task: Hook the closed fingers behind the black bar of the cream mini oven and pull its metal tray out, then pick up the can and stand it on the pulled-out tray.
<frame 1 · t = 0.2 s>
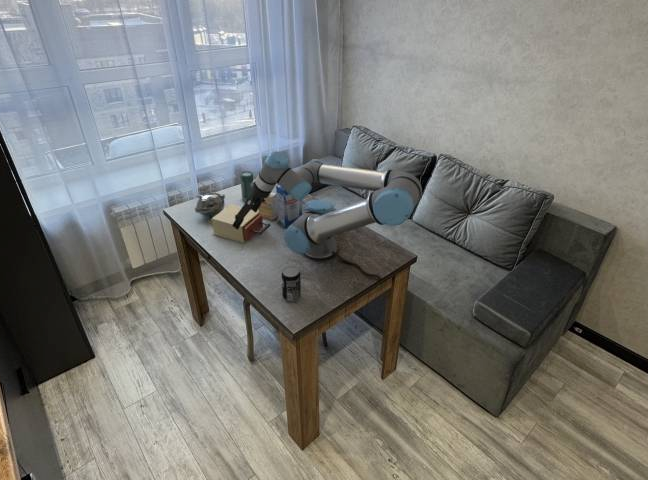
hand: (244, 218, 164), 15 cm above the table, tool tilted 30°, fingers open, 13 cm apart
oven: (237, 230, 183), on the table
milk carton: (290, 222, 191), on the table
can: (248, 199, 208), on the table
beverage can: (291, 296, 147), on the table
piggy bank: (212, 215, 193), on the table
supplement box: (268, 216, 195), on the table
drawer: (246, 225, 179), point 4 cm above the table, slide at 0.5 cm
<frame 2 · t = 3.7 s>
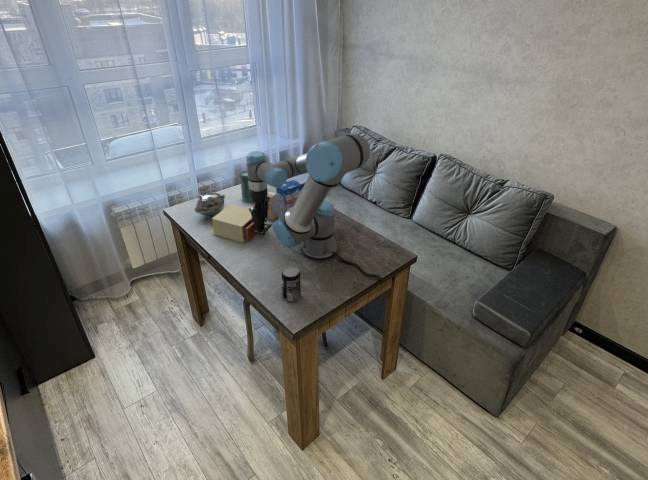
hand: (261, 234, 178), 2 cm above the table, tool pointing down, fingers closed
drawer: (247, 226, 179), point 4 cm above the table, slide at 1.2 cm, touching gripper
everything else where it was.
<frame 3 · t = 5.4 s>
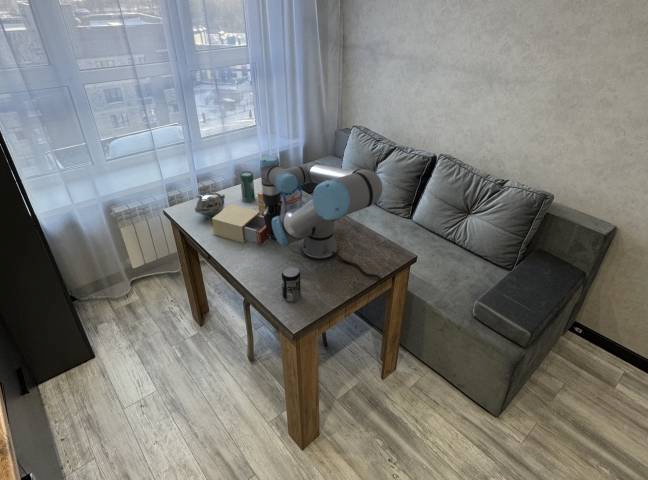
hand: (274, 238, 176), 1 cm above the table, tool pointing down, fingers closed
drawer: (260, 229, 177), point 4 cm above the table, slide at 7.6 cm
everything else where it was.
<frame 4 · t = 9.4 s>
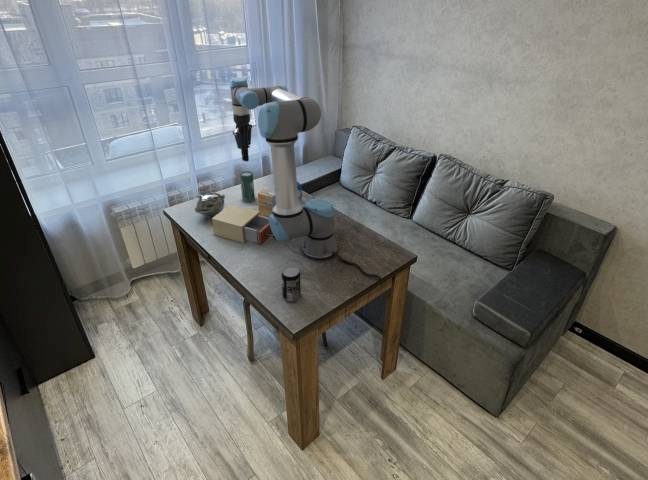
hand: (245, 160, 195), 23 cm above the table, tool pointing down, fingers closed
nothing on the table moved.
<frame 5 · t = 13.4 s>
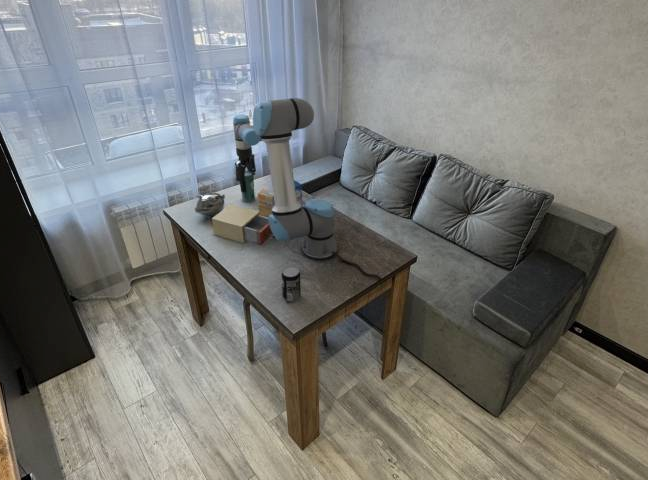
hand: (247, 189, 205), 6 cm above the table, tool pointing down, fingers closed on can, 6 cm apart
can: (248, 199, 208), on the table, touching gripper
everything else where it was.
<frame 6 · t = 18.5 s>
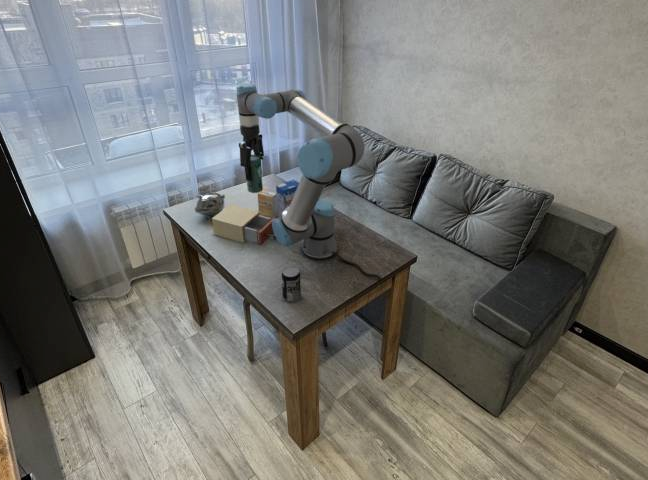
hand: (254, 176, 169), 28 cm above the table, tool pointing down, fingers closed on can, 6 cm apart
can: (255, 190, 172), point 21 cm above the table, touching gripper
everything else where it was.
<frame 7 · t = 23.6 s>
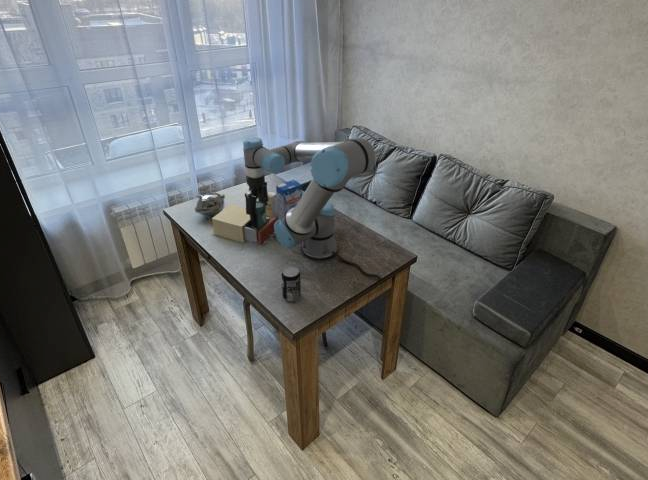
hand: (258, 221, 175), 8 cm above the table, tool pointing down, fingers closed on can, 6 cm apart
can: (259, 233, 178), point 2 cm above the table, touching drawer, gripper
drawer: (259, 229, 177), point 4 cm above the table, slide at 7.5 cm, touching can
everything else where it was.
when the fingers open (8 cm above the table, at t = 23.6 s): can stays where it is, resting on drawer.
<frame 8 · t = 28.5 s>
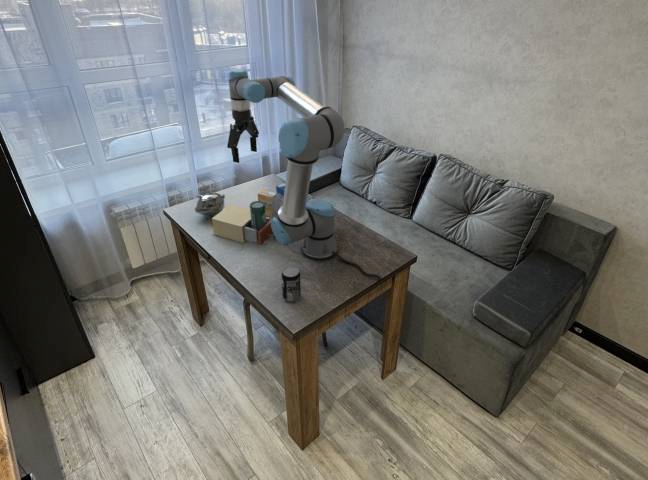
hand: (245, 156, 175), 33 cm above the table, tool pointing down, fingers open, 13 cm apart
can: (259, 233, 178), point 2 cm above the table, touching drawer
everything else where it was.
at the end: drawer slide at 7.5 cm; can inside the target area in the drawer (0.9 cm from its centre), point 1.8 cm above the oven's base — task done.
